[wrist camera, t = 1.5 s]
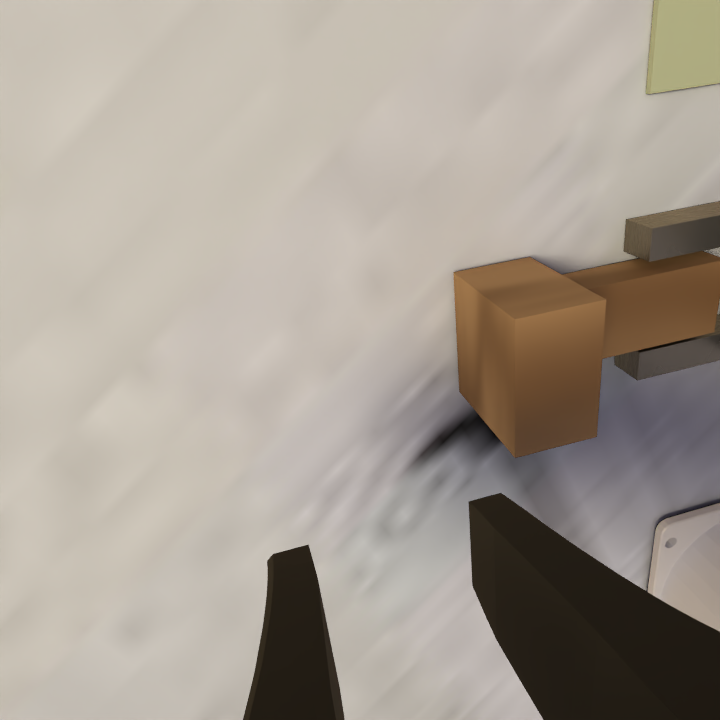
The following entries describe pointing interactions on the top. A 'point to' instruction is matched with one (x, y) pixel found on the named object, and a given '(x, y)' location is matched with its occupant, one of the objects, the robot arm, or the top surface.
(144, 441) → the top surface
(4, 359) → the top surface
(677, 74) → the mat
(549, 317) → the key
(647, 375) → the socket
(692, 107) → the top surface
